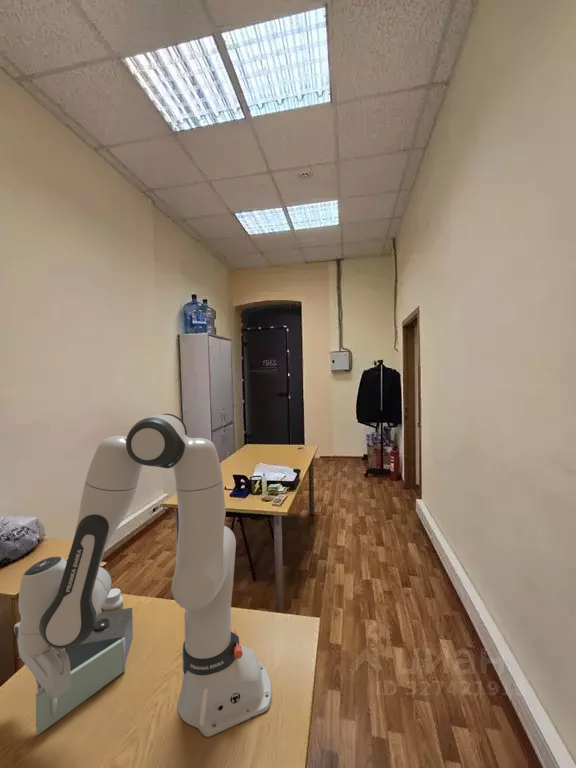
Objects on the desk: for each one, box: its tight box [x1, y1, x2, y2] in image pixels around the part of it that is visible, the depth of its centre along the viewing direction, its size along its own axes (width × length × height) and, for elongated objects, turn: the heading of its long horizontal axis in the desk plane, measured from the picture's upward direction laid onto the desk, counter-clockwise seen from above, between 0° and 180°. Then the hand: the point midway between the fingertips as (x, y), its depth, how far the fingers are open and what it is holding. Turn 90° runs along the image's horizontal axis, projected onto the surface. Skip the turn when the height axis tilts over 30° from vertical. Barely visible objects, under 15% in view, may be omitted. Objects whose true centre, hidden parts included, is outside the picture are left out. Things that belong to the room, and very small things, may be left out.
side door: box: [35, 637, 126, 736], centre depth 82 cm, size 20×2×8 cm, turn 146°
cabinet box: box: [64, 607, 134, 671], centre depth 95 cm, size 14×12×10 cm
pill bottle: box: [100, 587, 124, 613], centre depth 107 cm, size 6×6×11 cm
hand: (44, 693), depth 77 cm, fingers closed
